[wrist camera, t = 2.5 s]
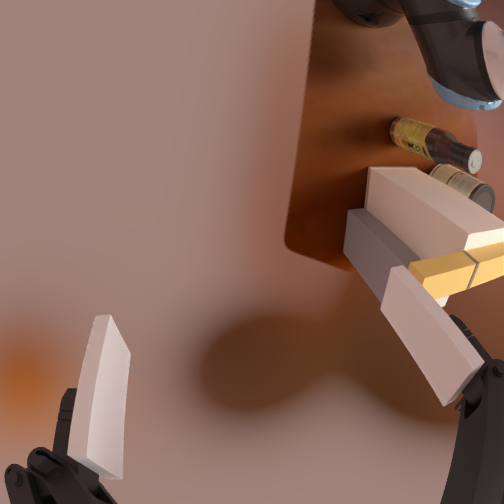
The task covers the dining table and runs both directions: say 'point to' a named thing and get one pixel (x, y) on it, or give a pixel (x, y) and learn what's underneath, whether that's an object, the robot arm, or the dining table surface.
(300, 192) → the dining table surface
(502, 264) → the yellow long bar
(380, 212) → the cream pillar
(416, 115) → the dining table surface
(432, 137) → the sauce bottle
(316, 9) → the dining table surface
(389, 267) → the grey upright block
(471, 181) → the coffee can
